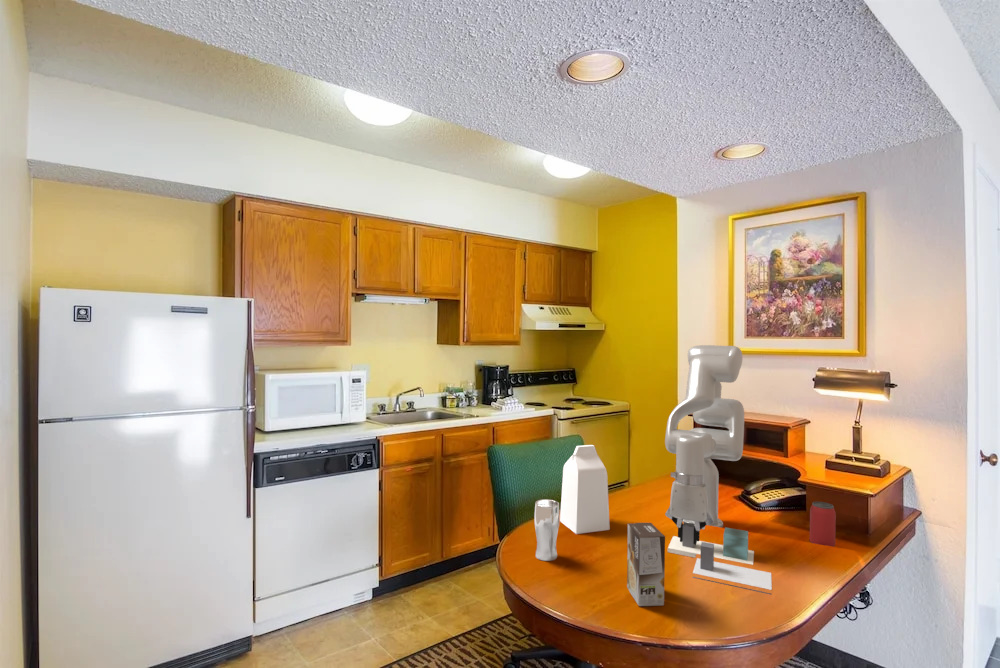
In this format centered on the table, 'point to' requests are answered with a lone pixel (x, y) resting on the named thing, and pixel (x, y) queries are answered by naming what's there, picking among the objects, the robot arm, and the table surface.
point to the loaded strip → (699, 546)
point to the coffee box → (646, 564)
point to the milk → (585, 492)
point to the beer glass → (546, 528)
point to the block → (735, 543)
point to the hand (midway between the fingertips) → (688, 541)
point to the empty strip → (729, 571)
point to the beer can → (822, 524)
